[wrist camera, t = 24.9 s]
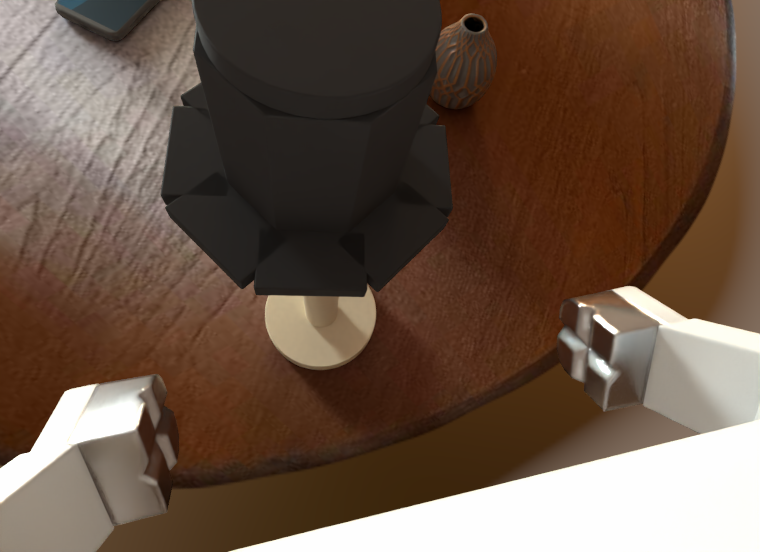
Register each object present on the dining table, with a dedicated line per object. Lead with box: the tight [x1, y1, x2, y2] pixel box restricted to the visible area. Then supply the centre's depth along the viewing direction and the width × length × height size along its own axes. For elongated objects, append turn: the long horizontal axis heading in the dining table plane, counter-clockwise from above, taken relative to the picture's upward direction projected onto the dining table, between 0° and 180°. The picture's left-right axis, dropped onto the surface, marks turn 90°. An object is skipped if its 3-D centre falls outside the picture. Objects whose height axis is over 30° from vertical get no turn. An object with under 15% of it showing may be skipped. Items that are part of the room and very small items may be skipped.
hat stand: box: [265, 285, 376, 370], centre depth 27 cm, size 9×9×30 cm
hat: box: [161, 0, 453, 297], centre depth 16 cm, size 11×11×8 cm
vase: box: [429, 14, 497, 109], centre depth 47 cm, size 7×7×9 cm
